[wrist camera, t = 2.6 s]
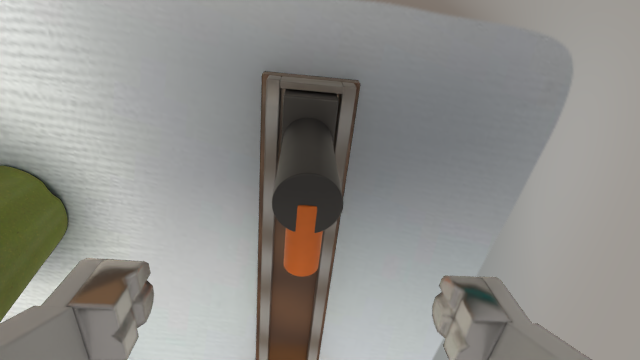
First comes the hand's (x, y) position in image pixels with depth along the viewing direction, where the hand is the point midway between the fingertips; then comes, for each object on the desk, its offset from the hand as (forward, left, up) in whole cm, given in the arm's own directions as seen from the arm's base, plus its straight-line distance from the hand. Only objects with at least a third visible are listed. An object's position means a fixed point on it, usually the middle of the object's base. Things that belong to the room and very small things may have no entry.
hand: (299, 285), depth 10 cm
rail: (+6, +11, -15) cm, 19 cm away
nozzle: (0, 0, -14) cm, 14 cm away
